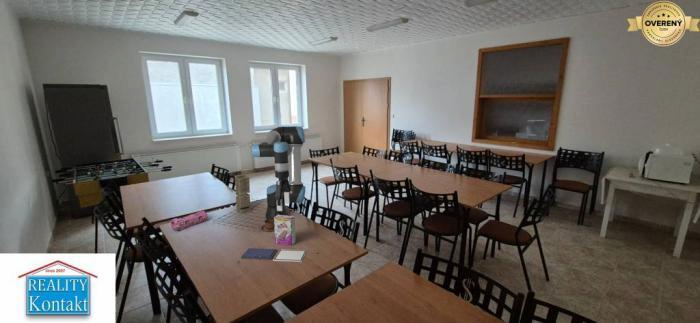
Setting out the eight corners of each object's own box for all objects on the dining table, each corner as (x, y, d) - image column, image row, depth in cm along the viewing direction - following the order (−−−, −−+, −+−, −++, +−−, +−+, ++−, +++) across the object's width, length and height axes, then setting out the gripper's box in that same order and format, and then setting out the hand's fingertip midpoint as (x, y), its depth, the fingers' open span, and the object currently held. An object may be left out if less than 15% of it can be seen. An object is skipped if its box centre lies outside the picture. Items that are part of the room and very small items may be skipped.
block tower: (241, 216, 214) (239, 177, 209) (236, 213, 219) (233, 175, 214) (251, 213, 219) (249, 175, 214) (246, 210, 225) (243, 173, 220)
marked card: (280, 249, 162) (280, 249, 162) (306, 250, 161) (306, 250, 160) (272, 260, 150) (272, 260, 150) (301, 261, 149) (301, 261, 149)
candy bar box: (274, 244, 169) (273, 217, 166) (278, 240, 173) (277, 214, 171) (292, 246, 166) (291, 219, 163) (296, 242, 170) (295, 216, 168)
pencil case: (177, 233, 183) (176, 220, 182) (170, 230, 188) (168, 217, 187) (209, 223, 201) (208, 210, 200) (202, 220, 206) (200, 208, 205)
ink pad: (249, 249, 162) (248, 247, 162) (277, 250, 161) (276, 248, 161) (241, 258, 152) (240, 256, 152) (270, 259, 151) (270, 257, 151)
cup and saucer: (279, 225, 197) (278, 216, 196) (281, 231, 186) (281, 222, 185) (260, 227, 193) (260, 218, 192) (262, 234, 182) (261, 225, 181)
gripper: (282, 165, 174) (283, 199, 178) (267, 174, 150) (269, 214, 154) (294, 166, 174) (295, 200, 177) (281, 175, 149) (283, 214, 153)
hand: (283, 206), depth 166 cm, fingers open, 13 cm apart
